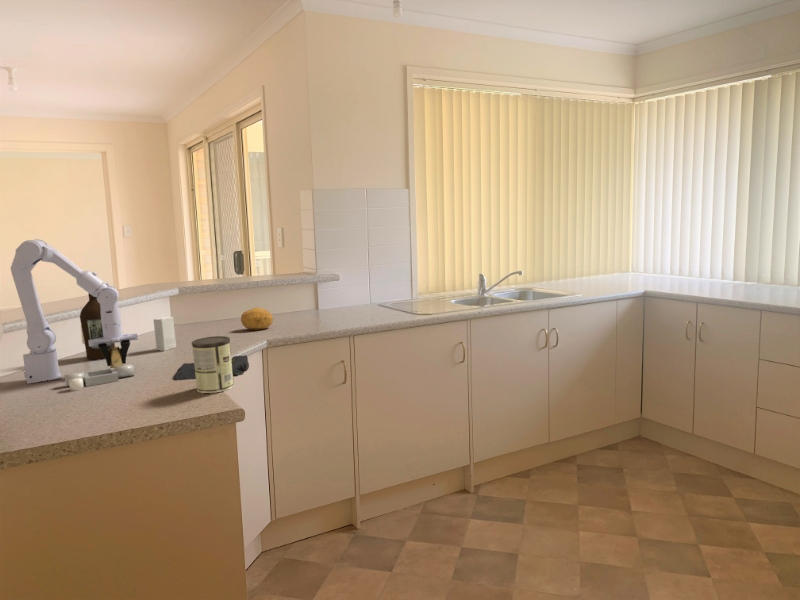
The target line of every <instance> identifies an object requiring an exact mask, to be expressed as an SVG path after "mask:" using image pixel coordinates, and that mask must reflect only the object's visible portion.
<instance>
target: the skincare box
mask: <svg viewBox="0 0 800 600" xmlns="http://www.w3.org/2000/svg"><path fill="white" fill-rule="evenodd" d="M174 322H175V321H174V316H163V317H159V318H155V319H153V326H154V327H153V328H154V337H155V346H156V351H158V350H160V351H161V352H165V351H168V350H172V349H175V348H177V342H176V331H175V323H174Z"/></svg>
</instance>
